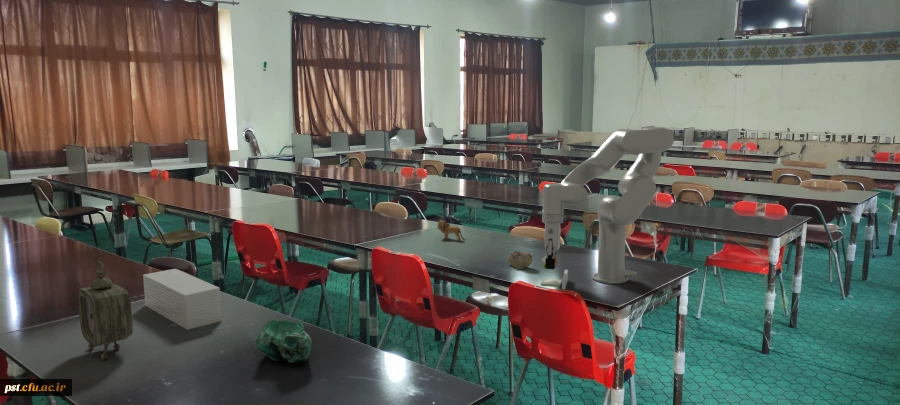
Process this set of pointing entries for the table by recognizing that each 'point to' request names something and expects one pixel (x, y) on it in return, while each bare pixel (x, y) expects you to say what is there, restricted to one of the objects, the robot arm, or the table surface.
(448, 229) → the lion figurine
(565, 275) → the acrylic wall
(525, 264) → the rock
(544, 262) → the roller toy
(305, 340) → the mineral
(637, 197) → the robot arm
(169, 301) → the stack of papers
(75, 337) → the table surface
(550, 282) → the mat
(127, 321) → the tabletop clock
